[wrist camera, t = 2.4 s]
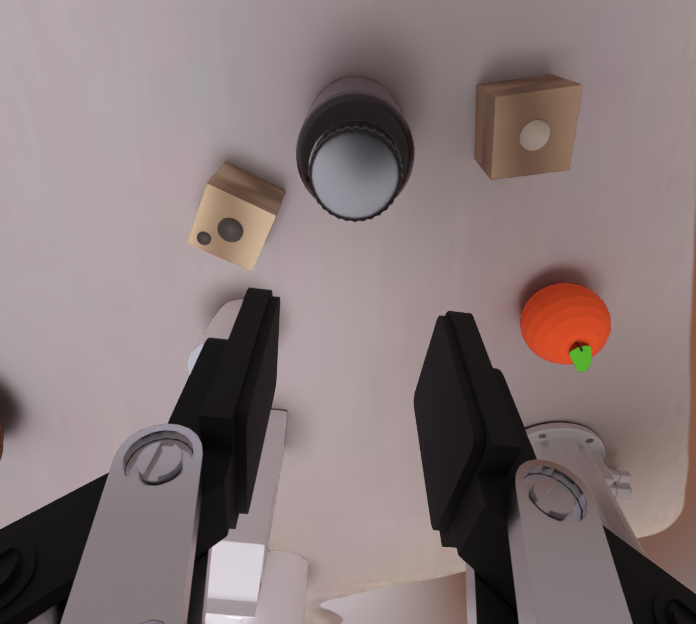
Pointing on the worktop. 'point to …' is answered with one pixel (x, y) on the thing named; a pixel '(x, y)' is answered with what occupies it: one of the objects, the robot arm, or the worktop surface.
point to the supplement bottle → (355, 149)
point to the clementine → (566, 324)
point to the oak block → (235, 216)
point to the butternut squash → (1, 440)
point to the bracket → (276, 593)
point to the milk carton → (248, 535)
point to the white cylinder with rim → (217, 328)
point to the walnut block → (526, 126)
